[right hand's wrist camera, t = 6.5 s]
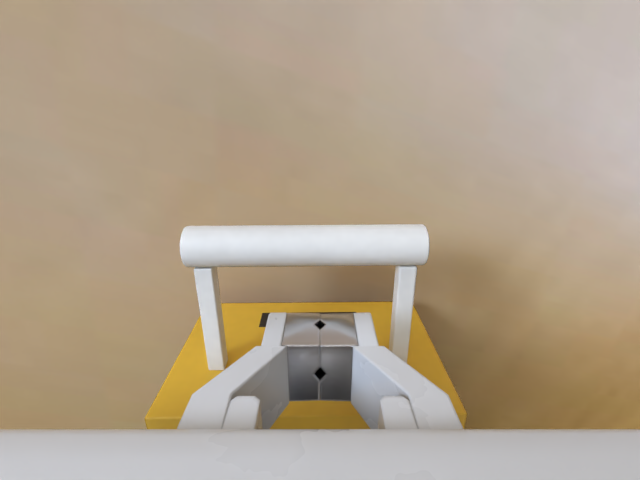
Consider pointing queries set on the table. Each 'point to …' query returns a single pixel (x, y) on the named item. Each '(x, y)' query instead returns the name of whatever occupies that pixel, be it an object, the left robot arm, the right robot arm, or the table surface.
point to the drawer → (297, 309)
